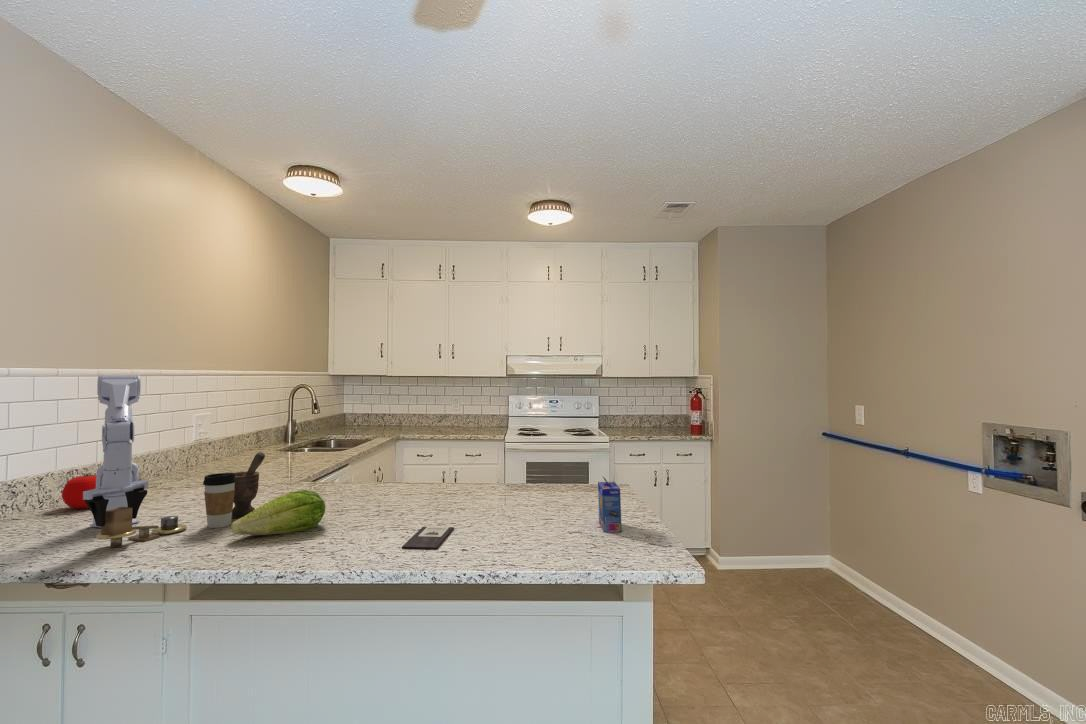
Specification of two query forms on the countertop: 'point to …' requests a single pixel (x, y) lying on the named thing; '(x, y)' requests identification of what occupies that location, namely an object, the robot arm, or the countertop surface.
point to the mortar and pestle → (246, 488)
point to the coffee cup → (219, 498)
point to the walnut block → (117, 521)
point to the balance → (146, 531)
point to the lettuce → (283, 515)
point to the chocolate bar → (428, 538)
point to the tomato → (78, 490)
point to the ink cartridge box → (609, 506)
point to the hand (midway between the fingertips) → (116, 522)
